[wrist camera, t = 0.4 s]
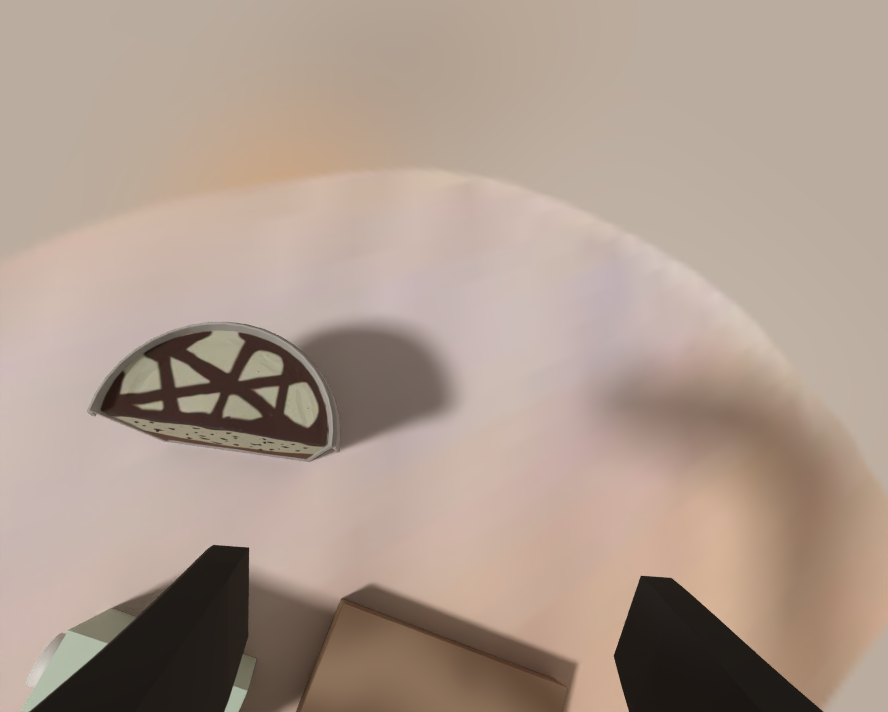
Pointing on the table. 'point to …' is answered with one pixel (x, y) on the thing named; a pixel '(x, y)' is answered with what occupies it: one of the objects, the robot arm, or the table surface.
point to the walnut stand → (416, 672)
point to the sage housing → (86, 643)
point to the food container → (224, 393)
